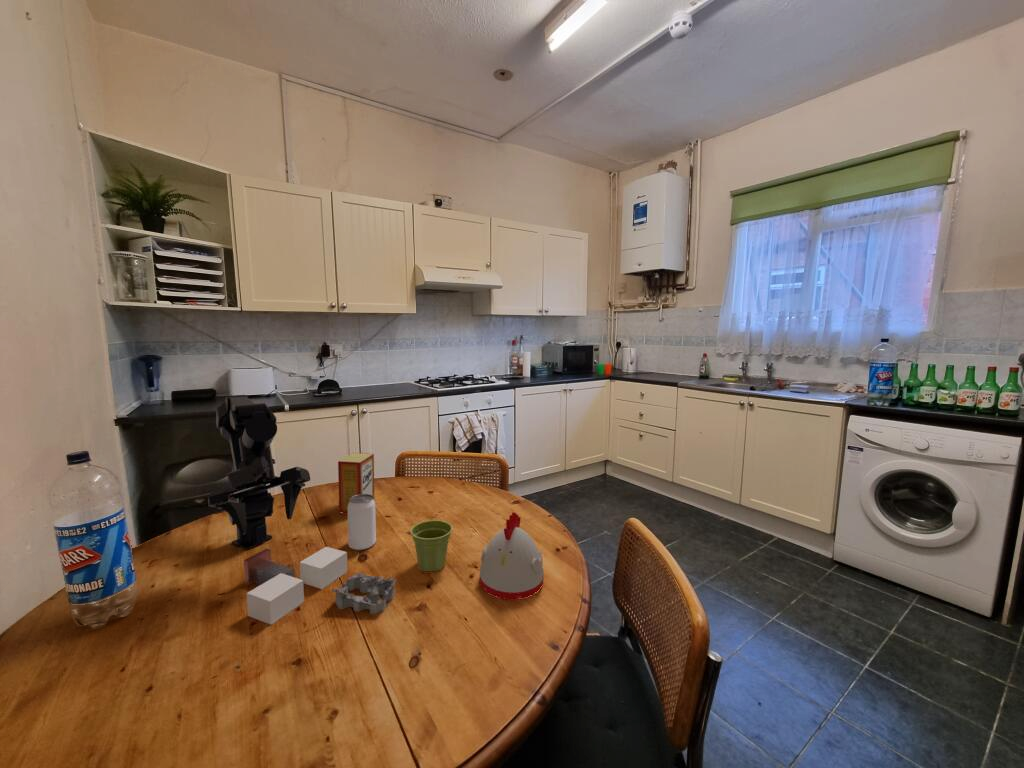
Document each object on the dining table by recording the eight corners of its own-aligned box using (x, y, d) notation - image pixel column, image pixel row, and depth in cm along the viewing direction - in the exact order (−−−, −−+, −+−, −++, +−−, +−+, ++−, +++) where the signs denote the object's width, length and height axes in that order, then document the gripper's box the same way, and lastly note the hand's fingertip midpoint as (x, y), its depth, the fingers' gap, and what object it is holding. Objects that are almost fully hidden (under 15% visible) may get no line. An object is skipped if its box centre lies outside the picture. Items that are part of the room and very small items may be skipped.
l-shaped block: (244, 583, 85) (243, 560, 84) (267, 570, 90) (266, 548, 89) (276, 594, 81) (275, 570, 81) (298, 580, 86) (297, 557, 86)
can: (366, 552, 98) (366, 504, 97) (342, 549, 99) (341, 501, 98) (380, 539, 104) (380, 494, 103) (357, 536, 106) (357, 492, 104)
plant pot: (402, 564, 93) (402, 528, 92) (436, 550, 100) (436, 516, 99) (426, 582, 87) (426, 543, 86) (460, 564, 94) (460, 528, 93)
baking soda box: (354, 500, 129) (353, 451, 127) (374, 501, 128) (373, 452, 126) (339, 513, 119) (338, 460, 118) (360, 514, 119) (359, 461, 117)
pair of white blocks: (248, 615, 75) (246, 593, 74) (326, 565, 92) (326, 546, 92) (271, 624, 73) (270, 601, 72) (347, 571, 90) (346, 552, 89)
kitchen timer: (468, 590, 84) (469, 521, 82) (494, 557, 97) (495, 497, 95) (532, 607, 79) (534, 534, 78) (550, 570, 92) (552, 506, 91)
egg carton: (329, 609, 78) (328, 589, 77) (353, 586, 85) (352, 568, 85) (379, 618, 75) (379, 598, 75) (399, 594, 83) (399, 575, 82)
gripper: (186, 464, 81) (194, 543, 77) (283, 436, 84) (295, 510, 80) (220, 471, 92) (229, 541, 87) (305, 446, 95) (317, 512, 90)
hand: (266, 526), depth 86 cm, fingers open, 9 cm apart
